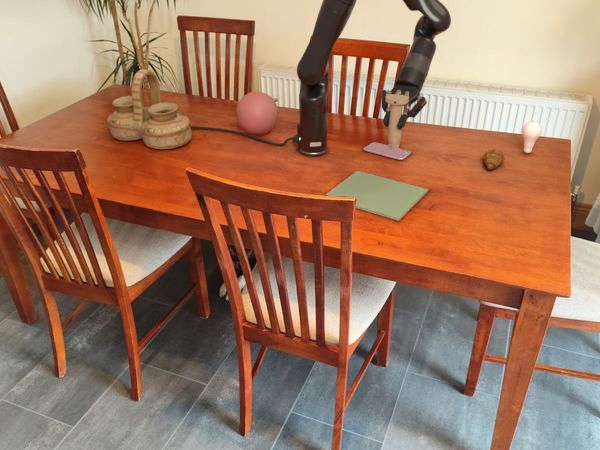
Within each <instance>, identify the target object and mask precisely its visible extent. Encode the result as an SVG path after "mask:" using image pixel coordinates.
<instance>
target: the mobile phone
mask: <svg viewBox="0 0 600 450" xmlns="http://www.w3.org/2000/svg"><path fill="white" fill-rule="evenodd" d="M363 151H364V152H367V153H371V154H375V155H379V156H382V157H386V158H390V159H394V160H398V161H402V160H405V158H407V157H408V156H409V155H411V154H412V152H411V150H409V149H405V148H404V149H403V148H400V147H398V148H395V149H392V148H389V147H388V144H384V143H380V142H376V141H374V142H371V143H369V144H368V145H366V146H365V147H363Z"/></svg>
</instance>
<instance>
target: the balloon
mask: <svg viewBox="0 0 600 450" xmlns="http://www.w3.org/2000/svg"><path fill="white" fill-rule="evenodd" d="M278 101H279V99H278V98H277V97H274V98H273V97H272V96H270V95H269V94H268V93H265V92H262V91H251V92H249V93H246V94H245V95H244V96H242V97H241V99H240V100H239V101H238V103H237V105H236V107H235V117H236V121H237V123H238V125H239V126H240V128H241V129H242V130H243V131H245V132H246V133H247V134H249V135H253V136H254V135H255V136H261V135H264V134H267V133H269V132H270V131H271V130H273V129H274V128H275V126H276V124H277V122H278V120H279V109H278V108H279V107H278V105H277V102H278Z"/></svg>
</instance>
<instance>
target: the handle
mask: <svg viewBox="0 0 600 450" xmlns="http://www.w3.org/2000/svg"><path fill="white" fill-rule="evenodd" d="M385 101H386V102H387V103H388V105H390V116H389V124H388V127H387V142H388V143H387V145H388V147H389V148H392V149H395V148H400V146H401V145H400V144H401V141H402V140H401V139H402V134H403V128H402V129H401V130H400V129H398V128H397V124H398V122H399V119H400V117H401V115H403V108H404V107H403V105H405V104H407V103H408V101H409V97H408V96H405V95H399V94H389V95H386V97H385Z"/></svg>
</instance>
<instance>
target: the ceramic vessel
mask: <svg viewBox="0 0 600 450" xmlns="http://www.w3.org/2000/svg"><path fill="white" fill-rule="evenodd" d="M146 78H147V81H148V86H149V96H150V97H149V98H150V105H148V106H145V105H144V98H143V83H144V80H145V79H146ZM130 90H131V91H130V92H131V95H123V96H120V97H117V98H116V99H114V100H113V101H111V102H112V103H111V104H112V106H113V107H115V108H116V110H114V111H112V113H110V114H109V115H108V116H107V118H106V121H107V122H106V123H108V128H109V131H110V135H111V137H112V138H114V139H116V140H118V141H124V142H128V141H129V142H130V141H136V140H142V142H143V144H144V145H145V146H146V147H148V148H151V149H156V150H169V149H170V150H172V149H176V148H180V147H182V146H185V145H186V144H188V143H189V142H190V141H191V140H192V138H193V132H192V129H191V127H190V126H191V120H190V118H188V116H187V115H184V114H182V112H177V111H179V108H180V107H179V105H178V104H177V103H175V102H171V101H163V102H162V96H161V85H160V82H159V78H158V76H157V75H156V73H155V72H153V70H151V69H147V68H141V69H139V70H137V71H136V73H135V74H134V75H133V78H132V81H131V89H130Z"/></svg>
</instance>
